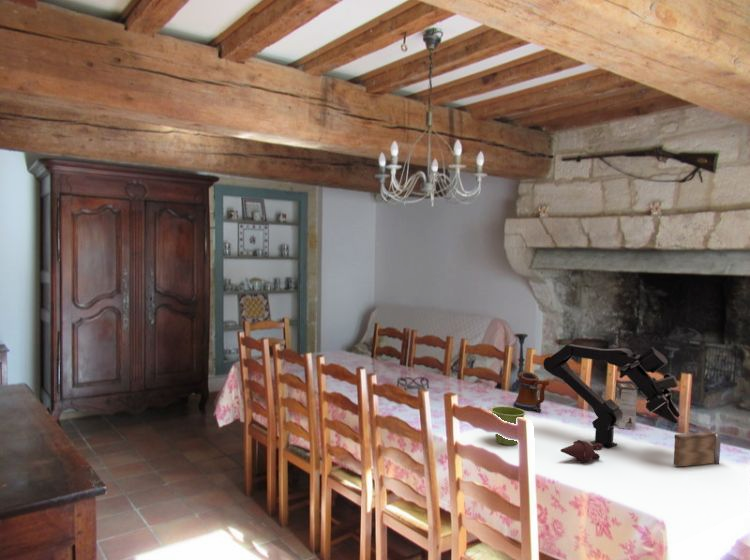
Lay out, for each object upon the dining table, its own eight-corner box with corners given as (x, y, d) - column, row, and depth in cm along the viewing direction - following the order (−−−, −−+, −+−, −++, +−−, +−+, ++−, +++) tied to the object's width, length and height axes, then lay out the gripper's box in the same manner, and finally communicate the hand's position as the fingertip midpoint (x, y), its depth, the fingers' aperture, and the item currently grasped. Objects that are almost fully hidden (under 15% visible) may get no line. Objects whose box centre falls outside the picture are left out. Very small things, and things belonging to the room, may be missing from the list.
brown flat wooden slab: (708, 460, 183) (710, 431, 183) (714, 463, 181) (716, 434, 180) (672, 464, 179) (674, 434, 178) (678, 466, 177) (680, 436, 176)
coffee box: (613, 421, 226) (615, 382, 225) (630, 423, 224) (632, 383, 224) (618, 428, 217) (620, 387, 216) (636, 430, 215) (638, 388, 215)
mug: (557, 414, 234) (559, 378, 233) (535, 416, 229) (537, 380, 228) (529, 403, 250) (530, 369, 250) (507, 405, 246) (509, 371, 245)
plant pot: (531, 444, 195) (533, 412, 194) (507, 450, 188) (508, 417, 188) (506, 434, 204) (507, 404, 204) (482, 439, 198) (483, 408, 198)
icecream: (569, 447, 174) (611, 449, 178) (557, 434, 181) (597, 436, 185) (563, 466, 176) (604, 467, 179) (551, 452, 183) (591, 454, 186)
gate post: (717, 464, 181) (719, 435, 180) (709, 462, 183) (711, 433, 182) (720, 463, 182) (722, 434, 182) (712, 461, 184) (714, 432, 184)
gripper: (659, 370, 177) (697, 411, 172) (665, 362, 193) (700, 399, 188) (631, 391, 182) (667, 431, 177) (638, 381, 198) (672, 418, 192)
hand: (677, 419), depth 183 cm, fingers open, 8 cm apart
